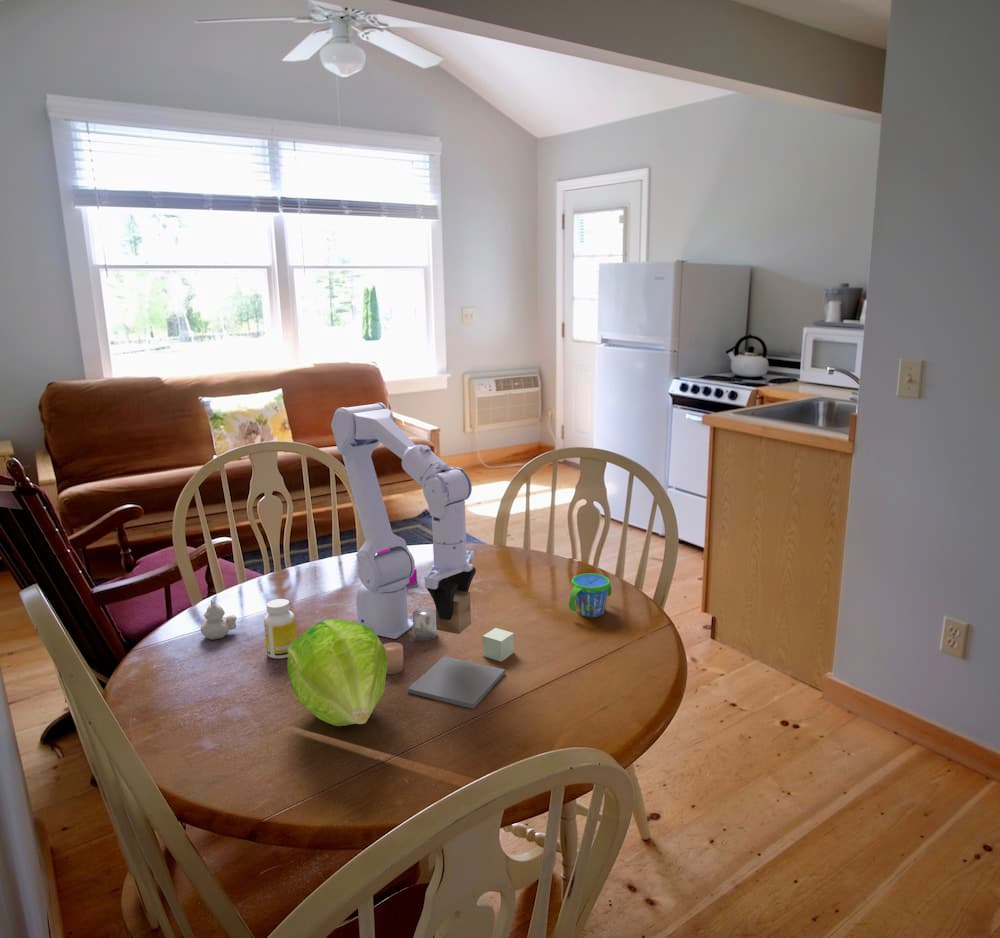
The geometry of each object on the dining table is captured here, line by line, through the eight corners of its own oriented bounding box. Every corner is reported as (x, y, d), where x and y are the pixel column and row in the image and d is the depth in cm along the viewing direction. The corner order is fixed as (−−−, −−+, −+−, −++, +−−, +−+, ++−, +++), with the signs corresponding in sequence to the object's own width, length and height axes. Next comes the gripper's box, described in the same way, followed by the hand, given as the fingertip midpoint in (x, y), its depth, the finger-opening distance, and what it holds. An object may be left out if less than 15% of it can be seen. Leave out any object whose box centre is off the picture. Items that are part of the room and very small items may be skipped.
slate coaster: (408, 693, 118) (407, 688, 118) (443, 660, 128) (443, 656, 128) (473, 708, 113) (473, 704, 113) (505, 673, 123) (504, 669, 123)
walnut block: (436, 629, 126) (435, 597, 125) (448, 619, 130) (447, 588, 129) (459, 634, 124) (458, 601, 123) (470, 623, 128) (470, 592, 127)
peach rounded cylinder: (376, 671, 125) (375, 650, 124) (389, 661, 129) (387, 640, 128) (395, 676, 123) (394, 654, 122) (408, 665, 127) (407, 644, 126)
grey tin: (409, 639, 137) (408, 615, 136) (421, 630, 141) (420, 606, 140) (429, 643, 135) (428, 618, 134) (440, 633, 139) (439, 609, 138)
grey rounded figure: (201, 635, 140) (196, 596, 138) (236, 627, 143) (232, 590, 141) (203, 646, 135) (198, 606, 134) (239, 638, 138) (235, 600, 136)
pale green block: (483, 656, 130) (482, 635, 129) (495, 647, 133) (495, 627, 132) (501, 662, 128) (501, 641, 127) (513, 653, 131) (513, 633, 130)
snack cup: (582, 628, 140) (582, 592, 139) (556, 615, 146) (556, 580, 145) (623, 613, 147) (624, 579, 145) (597, 601, 153) (598, 568, 151)
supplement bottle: (303, 648, 134) (299, 599, 131) (283, 662, 129) (279, 611, 127) (281, 643, 136) (276, 595, 134) (260, 656, 131) (255, 606, 129)
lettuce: (302, 781, 96) (292, 678, 93) (288, 698, 117) (280, 611, 113) (409, 756, 101) (404, 657, 98) (378, 681, 122) (373, 597, 118)
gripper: (450, 555, 116) (453, 633, 119) (488, 529, 128) (490, 600, 131) (412, 550, 118) (416, 626, 121) (453, 525, 131) (456, 595, 134)
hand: (452, 612), depth 127 cm, fingers closed on walnut block, 4 cm apart
